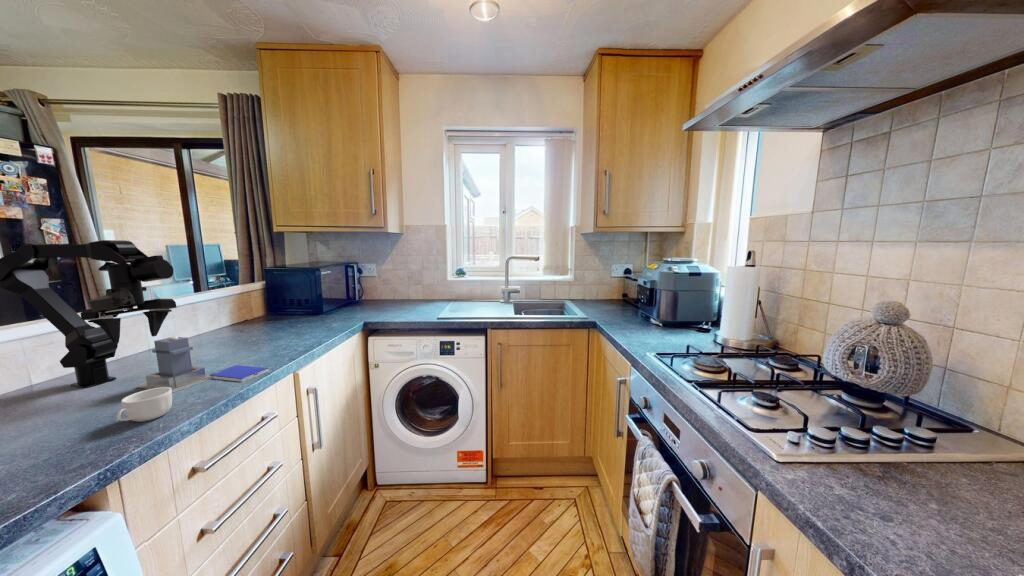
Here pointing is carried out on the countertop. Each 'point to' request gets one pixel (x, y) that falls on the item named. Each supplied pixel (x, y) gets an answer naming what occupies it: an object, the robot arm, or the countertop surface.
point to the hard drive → (239, 373)
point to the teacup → (146, 404)
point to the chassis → (176, 380)
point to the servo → (173, 356)
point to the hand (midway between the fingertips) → (135, 339)
